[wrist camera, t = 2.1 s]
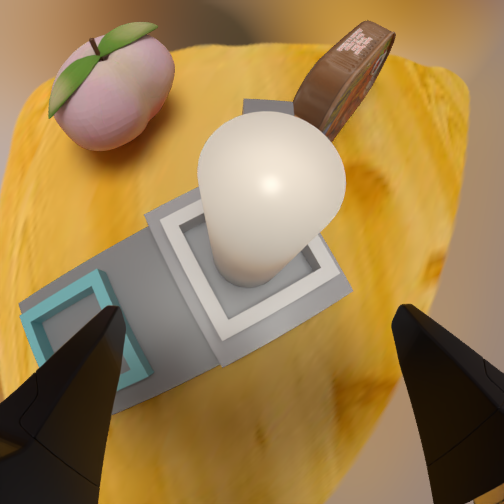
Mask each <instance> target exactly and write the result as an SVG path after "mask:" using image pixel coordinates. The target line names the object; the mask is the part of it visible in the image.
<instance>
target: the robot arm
mask: <svg viewBox="0 0 504 504" xmlns="http://www.w3.org/2000/svg"><path fill="white" fill-rule="evenodd" d="M391 327H392V332H393V337H394V341H395V345H396V350H397V355H398V359H399V363H400V367H401V371H402V374H403V377H404V381H405V384H406V387H407V390H408V394H409V397H410V401H411V404H412V408H413V412H414V415H415V419H416V423H417V426H418V431H419V434H420V439H421V443H422V447H423V451H424V456H425V460H426V465H427V470H428V475H429V480H430V486H431V491H432V497H433V503H434V504H465V503H467V502H470V501H472V500H473V503H474V504H504V373H502V372H501V371H499V370H498V369H497V368H496V367H494V366H493V365H491V364H490V363H489V362H488V361H487V360H485V359H483V357H482V356H480V355H479V354H478V353H476V352H475V351H474V350H472V349H471V348H470V347H469V346H467V345H466V344H465V343H463V342H462V341H460V340H459V339H458V338H457V337H456V336H454V335H453V334H452V333H450V332H449V331H447V330H446V329H445V328H444V327H442V326H441V325H439V324H438V323H437V322H435V321H434V320H433V319H431V318H430V317H429V316H427V315H426V314H424V313H423V312H422V311H420V310H419V309H418V308H416V307H415V306H413V305H412V304H402V305H400V306H399V307H398V309H397V312H396V314H395V316H394V318H393V320H392V325H391ZM125 335H126V324H125V321H124V317H123V314H122V310H121V308H120V307H119V306H115V305H107V306H106V307H104V308H103V309H102V310H101V311H100V312H99V313H98V314H97V315H95V316H94V317H93V318H92V319H91V320H90V321H89V322H88V323H87V324H86V325H84V326H83V327H82V328H81V329H80V330H79V331H78V332H77V333H76V334H75V335H73V336H72V337H71V338H70V339H69V340H68V341H67V342H66V343H65V344H64V345H63V346H62V347H61V348H60V349H58V350H57V351H56V352H55V353H54V354H53V355H52V356H51V357H50V358H49V359H48V360H47V361H46V362H45V363H44V364H43V365H42V366H41V367H40V368H39V369H38V370H37V371H36V373H33V374H32V375H31V376H30V377H29V378H28V379H27V380H26V381H25V382H24V383H23V384H22V385H21V386H20V387H19V388H18V389H17V390H16V391H14V392H13V393H12V394H11V395H10V396H9V397H7V398H6V399H5V400H4V401H3V402H1V403H0V504H98V499H99V490H100V488H99V487H100V481H101V474H102V467H103V460H104V454H105V448H106V442H107V436H108V431H109V425H110V420H111V415H112V410H113V405H114V400H115V396H116V391H117V387H118V382H119V378H120V373H121V366H122V357H123V349H124V342H125Z"/></svg>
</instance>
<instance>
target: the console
mask: <svg viewBox="0 0 504 504" xmlns="http://www.w3.org/2000/svg"><path fill="white" fill-rule="evenodd" d="M144 216H145V218H146V220H147V223H148V225H149V226H148V227H146V228H144V229H142V230H141V231H139V232H137V233H135V234H133V235H131V236H130V237H128V238H126V239H124V240H122V241H121V242H119V243H117V244H115V245H113V246H112V247H110V248H108V249H106V250H105V251H103V252H101V253H99V254H98V255H96V256H94V257H93V258H91V259H89V260H87V261H86V262H84V263H82V264H81V265H79V266H77V267H76V268H74V269H72V270H71V271H69V272H67V273H66V274H64V275H63V276H61V277H59V278H58V279H56V280H54V281H53V282H51V283H50V284H48V285H46V286H45V287H43V288H42V289H40V290H39V291H37V292H35V293H34V294H32V295H31V296H29V297H28V298H26V299H25V300H23V301H22V302H20V303H19V307H20V310H21V313H22V314H21V315H20V319H21V322H22V325H23V328H24V330H25V333H26V336H27V339H28V341H29V344H30V346H31V349H32V351H33V354H34V356H35V359H36V361H37V363H38V366H39V368H40V367H41V366H42V365H43V364H44V363H45V362H46V361H47V360H48V359H49V358H50V357H51V356H52V355H53V354H54V353H55V352H56V351H57V350H58V349H60V348H61V347H62V346H63V345H64V344H65V343H66V342H67V341H68V340H69V339H70V338H71V337H72V336H73V335H75V334H76V333H77V332H78V331H79V330H80V329H81V328H82V327H83V326H84V325H86V324H87V323H88V322H89V321H90V320H91V319H92V318H93V317H94V316H95V315H97V314H98V313H99V312H100V311H101V310H102V309H103V308H104V307H106V306H107V305H115V306H119V307H120V308H121V310H122V314H123V317H124V321H125V324H126V335H125V342H124V349H123V357H122V366H121V373H120V378H119V382H118V387H117V391H116V396H115V400H114V405H113V410H112V415H113V414H116V413H118V412H120V411H123V410H125V409H127V408H130V407H132V406H134V405H137V404H139V403H141V402H143V401H146V400H148V399H150V398H152V397H155V396H157V395H159V394H161V393H163V392H165V391H167V390H170V389H172V388H174V387H176V386H178V385H180V384H182V383H184V382H186V381H188V380H190V379H192V378H194V377H196V376H198V375H200V374H202V373H204V372H206V371H208V370H210V369H212V368H214V367H216V366H218V365H220V364H221V366H222V368H223V367H225V366H227V365H229V364H231V363H233V362H234V361H236V360H238V359H240V358H242V357H244V356H246V355H247V354H249V353H251V352H253V351H255V350H257V349H258V348H260V347H262V346H264V345H265V344H267V343H269V342H271V341H272V340H274V339H276V338H278V337H279V336H281V335H283V334H285V333H286V332H288V331H290V330H291V329H293V328H295V327H296V326H298V325H300V324H302V323H303V322H305V321H306V320H308V319H310V318H311V317H313V316H315V315H316V314H318V313H320V312H321V311H323V310H324V309H326V308H328V307H329V306H331V305H332V304H334V303H335V302H337V301H339V300H340V299H342V298H343V297H345V296H346V295H348V294H349V293H351V292H352V291H353V289H352V288H351V286H350V284H349V282H348V280H347V279H346V277H345V275H344V273H343V271H342V270H341V268H340V266H339V264H338V263H337V261H336V259H335V257H334V256H333V254H332V252H331V251H330V249H329V247H328V245H327V244H326V242H325V240H324V239H323V237H322V235H321V234H320V233H319V234H318V235H317V236H316V237H315V238H314V239H313V240H312V241H311V242H309V243H308V244H307V245H306V246H305V247H304V248H303V249H302V250H301V251H300V252H299V253H298V254H297V255H296V256H295V257H294V258H293V259H292V260H291V261H290V262H289V263H288V264H287V265H286V266H285V267H284V268H283V269H282V270H281V271H280V272H278V273H277V274H276V275H275V276H274V277H273V278H272V279H271V280H270V281H268V282H267V283H265V284H263V285H261V286H258V287H252V288H245V287H239V286H236V285H234V284H232V283H230V282H228V281H227V280H226V279H225V278H223V277H222V275H221V274H220V273H219V271H218V270H217V268H216V266H215V263H214V259H213V254H212V249H211V244H210V240H209V235H208V230H207V225H206V220H205V215H204V210H203V204H202V199H201V194H200V189H199V187H197V188H195V189H193V190H191V191H189V192H187V193H185V194H183V195H181V196H179V197H177V198H175V199H173V200H171V201H169V202H167V203H165V204H163V205H161V206H159V207H158V208H156V209H154V210H152V211H150V212H148V213H146V214H144Z"/></svg>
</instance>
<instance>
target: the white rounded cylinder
mask: <svg viewBox="0 0 504 504" xmlns="http://www.w3.org/2000/svg"><path fill="white" fill-rule="evenodd" d="M198 183H199V189H200V194H201V199H202V204H203V210H204V215H205V220H206V225H207V230H208V235H209V240H210V244H211V249H212V254H213V259H214V263H215V266H216V268H217V270H218V271H219V273H220V274H221V275H222V277H223V278H225V279H226V280H227V281H228V282H230V283H232V284H234V285H236V286H239V287H245V288H252V287H258V286H261V285H263V284H265V283H267V282H268V281H270V280H271V279H272V278H273V277H274V276H275V275H276V274H277V273H278V272H280V271H281V270H282V269H283V268H284V267H285V266H286V265H287V264H288V263H289V262H290V261H291V260H292V259H293V258H294V257H295V256H296V255H297V254H298V253H299V252H300V251H301V250H302V249H303V248H304V247H305V246H306V245H307V244H308V243H309V242H311V241H312V240H313V239H314V238H315V237H316V236H317V235H318V234H319V233H320V232H321V231H322V230H323V229H324V228H325V227H326V226H327V225H328V224H329V223H330V222H331V220H332V219H333V218H334V217H335V216H336V214H337V212H338V210H339V209H340V207H341V204H342V202H343V199H344V194H345V187H346V178H345V171H344V166H343V163H342V160H341V158H340V156H339V154H338V152H337V150H336V149H335V147H334V146H333V144H332V143H331V142H330V140H329V139H328V138H327V137H326V136H325V135H324V134H323V133H322V132H321V131H320V130H318V129H317V128H316V127H314V126H313V125H311V124H310V123H308V122H306V121H304V120H302V119H300V118H298V117H295V116H294V107H293V102H287V101H275V100H260V99H244V101H243V112H242V115H241V116H238V117H235V118H233V119H231V120H229V121H228V122H226V123H224V124H223V125H222V126H220V127H219V128H218V129H217V130H216V131H215V132H214V133H213V134H212V135H211V136H210V137H209V139H208V140H207V142H206V143H205V145H204V147H203V149H202V151H201V154H200V157H199V162H198Z"/></svg>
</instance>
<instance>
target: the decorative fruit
mask: <svg viewBox="0 0 504 504" xmlns="http://www.w3.org/2000/svg"><path fill="white" fill-rule="evenodd" d="M156 28H158V26H157V25H155V24H152V23H147V22H135V23H128V24H125V25H122V26H119V27H117V28H116V29H114V30H112V31H110V32H109V33H107V34H106V35H103V36H101V37H97V38H95V39H94V38H91V39H90V40H89V42H87V43H85V44H84V45H82V46H81V47H79V48H78V49H77V50H76V51H75V52H74V53H73V54H72V55H71V56H70V57H69V58H68V59H67V60H66V62H65V63H64V64H63V66H62V67H61V69H60V70H59V72H58V74H57V76H56V78H55V80H54V83H53V87H52V91H51V96H50V100H49V119H50V118H51V117H52V116H53V115H54V117H55V119H56V121H57V123H58V124H59V126H60V127H61V128H62V129H63V130H64V132H65V133H66V134H67V135H68V136H69V137H70V138H71V139H72V140H73V141H74V142H75V143H77V144H78V145H79V146H81V147H83V148H85V149H88V150H93V151H106V150H111V149H115V148H117V147H120V146H122V145H124V144H126V143H128V142H130V141H132V140H133V139H135V138H136V137H137V136H139V135H140V134H141V133H142V132H143V130H144V129H145V128H146V126H147V124H148V121H149V120H151V119H152V118H153V117H154V116H155V115H156V114H157V113H158V112H159V111H160V110H161V108H162V106H163V104H164V102H165V100H166V98H167V96H168V94H169V91H170V89H171V86H172V83H173V80H174V73H175V65H174V61H173V59H172V56H171V54H170V53H169V51H168V50H167V49H166V48H165V46H164V45H162V44H161V43H160V42H159V41H158V40H156V39H155V38H153V37H151V36H149V35H147V34H148V33H150V32H151V31H153V30H155V29H156Z"/></svg>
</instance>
